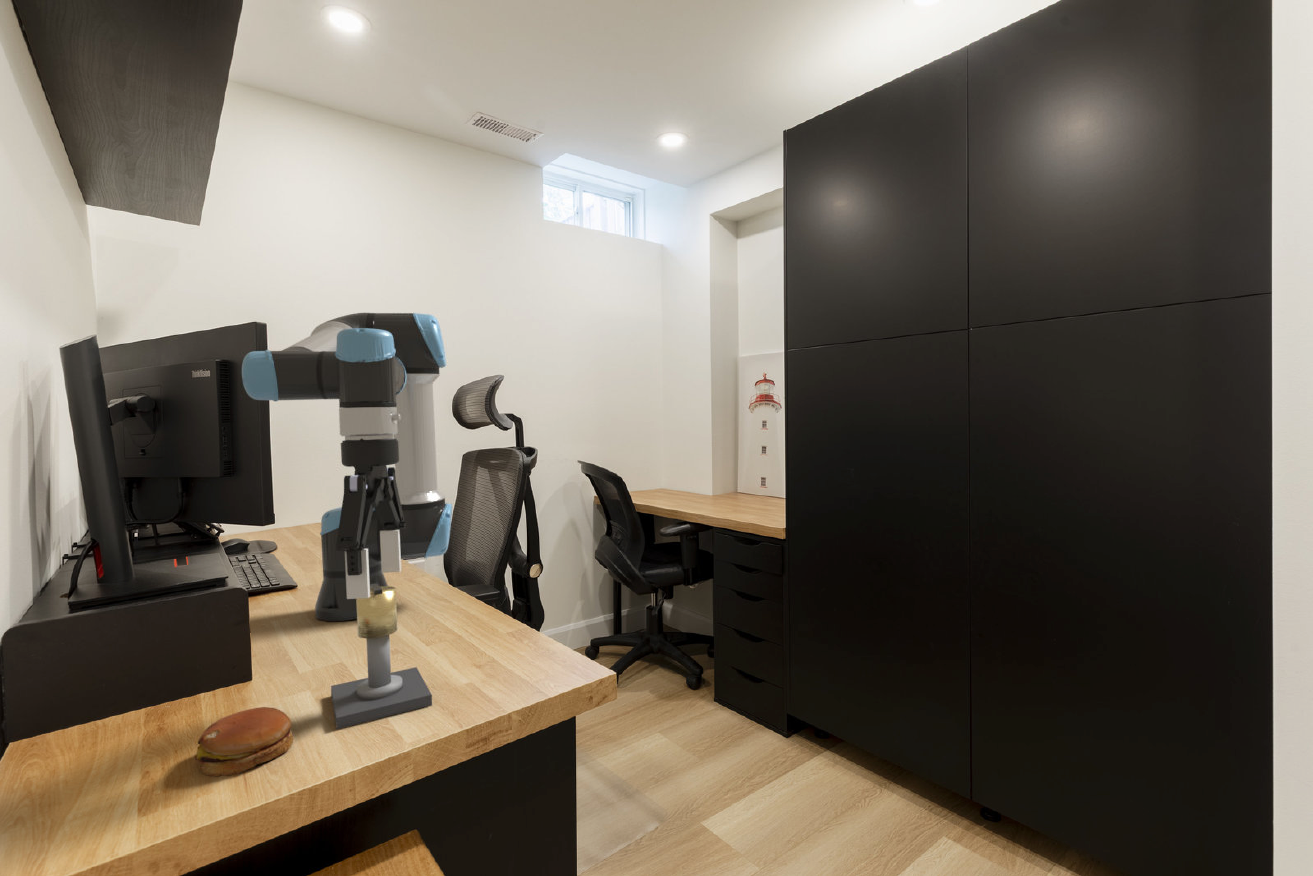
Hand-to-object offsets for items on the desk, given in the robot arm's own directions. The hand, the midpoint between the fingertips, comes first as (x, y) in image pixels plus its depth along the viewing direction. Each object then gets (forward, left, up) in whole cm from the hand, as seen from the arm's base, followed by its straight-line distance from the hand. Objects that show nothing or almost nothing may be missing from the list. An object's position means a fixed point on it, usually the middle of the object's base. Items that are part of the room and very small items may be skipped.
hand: (376, 584), depth 88 cm
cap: (0, 0, -7) cm, 7 cm away
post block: (0, 0, -17) cm, 17 cm away
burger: (+7, -16, -17) cm, 25 cm away
